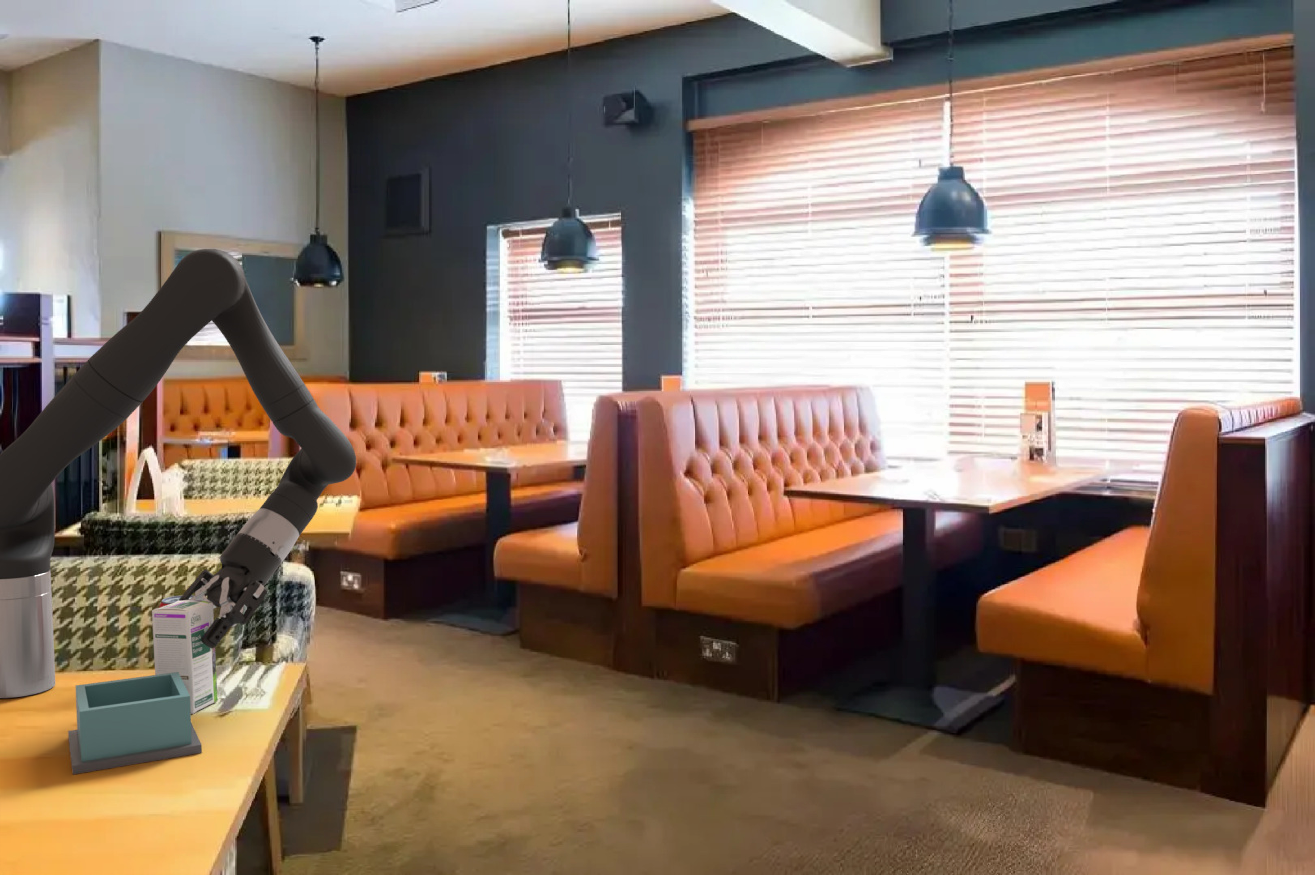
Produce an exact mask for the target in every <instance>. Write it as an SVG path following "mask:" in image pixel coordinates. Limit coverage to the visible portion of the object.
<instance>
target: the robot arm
mask: <svg viewBox="0 0 1315 875" xmlns="http://www.w3.org/2000/svg"><path fill="white" fill-rule="evenodd" d="M165 280H166V281H164V283H163V284H162V286H161V287H160V288H159V290H158V291H157V292H156V293H155V295H154V296H153V297H152V298H151V300H150V301H149V302H148V304H146V305H145V307H144V308H143V309H142V310H141V311H140V312H139V313H138V314H137V315H136V316H135V317H134V318H133V319H132V320H130V321H129V322H128V323H127V324H126V325H124V326H123V327H122V328H121V329H120V330H118V331H117V332H116V333H115V334H114V335H113V336H111V337H110V338H109V339H108V340H107V341H106V342H105V343H104V344H102V345H101V347H100V348H99V349H98V350H97V351H96V352H94V353H93V354H92V355H91V356H90V357H89V359H88V360H86V362H84V364H83V365H82V366H81V367H79V369H78V370H77V371H76V372H75V373H74V374H73V375H72V377H71V378H70V379H68V381H67V382H66V383H65V384H64V385H63V387H62V388H61V389H60V390H58V392H57V394H56V395H54V396H53V398H52V399H51V400H50V401H49V403H47V405H45V407H44V408H43V410H42V411H41V412H40V413H39V414H38V415H37V417H35V419H34V420H33V422H32V423H31V424H29V426H28V427H27V429H26V430H25V431H23V433H21V434H20V436H18V438H16V439H15V440H14V441H13V442H12V443H11V444H10V445H8V446H7V447H6V448H5V449H4V450H3V451H2V452H0V699H10V698H18V697H19V698H20V697H26V696H32V695H35V694H39V693H43V692H45V691H48V690H50V689H52V688H54V687H55V686H56V668H55V664H56V663H55V648H54V647H55V645H54V644H55V643H54V640H55V639H54V624H53V623H54V621H53V620H54V619H53V618H54V617H53V616H54V615H53V598H52V597H53V594H52V578H51V576H52V575H51V558H52V554H53V551H54V548H55V532H56V531H55V527H56V526H55V513H56V512H55V494H54V489H53V484H52V483H53V482H54V481H55V480H56V479H57V477H58V476H59V475H60V474H61V473H62V472H63V471H64V470H65V468H67V467H68V466H69V465H70V464H71V463H72V462H74V461H75V460H76V459H77V458H78V457H80V456H81V455H83V454H84V453H86V452H87V451H88V450H90V449H91V448H92V447H94V446H96V444H98V443H100V441H102V440H103V439H104V438H106V437H107V436H108V435H110V434H111V433H113V432H114V431H115V430H117V428H118V427H120V426H121V425H122V424H123V423H124V422H125V421H126V420H127V419H128V418H129V417H131V415H132V414H133V413H134V411H136V409H138V408H139V406H141V404H142V403H143V402H144V401H145V400H146V399H147V398H148V396H149V395H150V394H151V393H152V392H153V390H154V389H155V388H156V387H157V385H158V384H159V383H160V381H162V378H163V377H164V376H165V374H166V373H167V372H168V370H169V368H170V367H171V365H172V363H173V362H174V360H175V359H176V358H177V356H178V354H179V353H180V352H181V350H182V349H183V348H184V347H185V346H186V345H187V344H188V342H190V340H192V338H194V337H195V336H196V335H197V334H198V333H199V332H201V331H202V330H203V329H204V328H205V327H206V326H207V325H208V324H210V323H211V322H212V323H213V324H214V325H215V327H217V329H218V330H219V331H220V333H221V335H223V337H224V338H225V340H226V341H227V343H228V345H229V346H230V348H231V350H232V351H233V353H234V355H235V357H236V359H237V361H238V364H239V365H240V367H241V369H242V371H243V373H244V375H245V378H246V380H247V382H248V384H249V386H250V388H251V391H253V393H254V395H255V397H256V399H257V401H258V402H259V403H260V406H261V407H262V408H263V410H264V412H265V414H266V415H267V416H268V418H269V420H270V422H272V424H273V426H274V427H275V429H276V430H277V431H278V432H279V434H281V435H282V436H284V437H289V438H291V439H293V440H294V441H295V443H296V444H297V445H298V446H299V448H300V449H299V450H298V451H297V453H296V454H295V455H294V456H293V457H292V459H291V460H290V462H289V463H288V465H287V467H286V469H285V470H284V472H283V474H282V476H281V478H280V480H279V483H278V485H277V486H276V488H275V489H274V490H273V491H272V493H270V494H269V496H268V497H267V499H266V500H265V501H264V502H263V504H262V505H261V506H260V507H259V509H257V511H256V512H255V513H254V514H253V515H252V516H251V517H250V518H249V519H248V520H247V521H246V523H245V524H244V525H243V526H242V528H241V529H240V530H239V531H238V533H237V534H236V535H235V536H234V537H233V539H232V540H231V542H230V543H229V544H228V545H227V547H226V548H225V549H224V551H223V552H221V554H220V556H219V561H220V563H221V568H220V569H219V570H218V571H217V572H216V573H214V574H213V573H211V572H210V571H209V570H208V569H203V570H202V571H201V572H200V573H199V575H198V576H197V577H196V579H195V580H194V581H193V582H192V584H190V586H189V587H188V589H186V590H185V591H184V593H183V594H182V595H180V596H181V598H180V599H179V601H183V600H202V601H209V602H212V603H213V610H215V609H216V608H220V609H219V610H220V611H219V617H216V618H215V619H214V622H213V623H212V625H211V626H210V627H209V628H208V630H207V631H206V632H205V634H204V635H203V636H202V638H201V642H202V643H204V644H205V645H206V646H207V647H209V648H215V649H216V647H217V646H218V644H219V643H220V642H221V641H222V639H223V638H224V636H225V635H226V634H227V632H229V630H230V628H235V627H236V626H237V624H239V625H241V626H245V625H246V624H247V623H248V622H249V620H250V618H251V617H252V616H253V615H254V612H255V611H256V610H257V609H258V607H259V606H260V604H261V603H262V602H263V600H264V599H265V597H266V595H267V594H268V592H269V590H268V589H267V588H266V587H265V586H266V584H267V583H268V582H269V581H270V579H271V578H272V577H273V575H274V574H275V573H276V571H277V569H279V567H280V566H281V565H282V563H283V561H285V559H286V558H287V557H288V555H289V553H290V552H291V551H292V549H293V547H294V546H295V544H296V542H297V541H298V538H299V537H300V536H301V535H302V533H303V532H304V530H306V527H308V525H309V524H310V523H311V521H312V520H313V518H314V516H315V515H316V513H317V511H318V508H319V507H318V499H319V498H320V497H321V494H322V493H323V492H324V490H325V489H326V488H327V487H328V486H329V485H333V484H334V485H335V484H339V483H341V482H345V481H346V480H348V479H349V478H351V477H352V475H353V474H354V473H355V470H356V467H357V456H356V453H355V449H354V447H353V445H352V444H351V442H350V440H349V439H348V437H347V436H346V435H345V433H344V432H343V431H342V429H340V428H339V427H338V426H337V424H335V423H334V421H333V420H332V419H331V418H330V417H329V416H328V415H327V414H326V413H325V412H324V411H323V410H322V409H321V408H320V407H319V406H318V404H317V402H316V400H315V399H314V397H313V395H312V393H311V392H310V390H309V389H308V387H307V386H306V384H305V383H304V381H303V380H302V377H301V376H300V374H299V373H298V371H297V370H296V369H295V367H294V366H293V364H292V362H291V361H290V359H289V358H288V356H287V355H286V354H285V352H284V350H283V349H282V347H281V346H280V344H279V343H278V341H277V340H276V338H275V336H274V335H273V333H272V332H271V330H270V328H269V326H268V325H267V322H266V321H265V319H264V317H263V315H262V314H261V311H260V309H259V307H258V305H257V302H256V300H255V298H254V296H253V294H252V291H251V288H250V286H249V284H248V282H247V278H246V275H245V271H244V269H243V266H242V265H241V263H240V262H239V261H238V260H237V259H236V258H235V257H234V256H233V255H231V254H230V253H228V252H226V251H223V250H222V249H216V248H201V249H198V250H197V249H196V250H193V251H191V252H189V253H187V254H186V255H185V256H184V257H183V258H181V260H180V261H179V263H177V265H176V266H175V268H174V269H173V270H172V272H171V273H170V274H169V276H168V277H167V279H165ZM193 594H194V595H193ZM191 595H193V596H194V597H192V598H191V599H189V598H190V597H191ZM244 607H246V610H245V611H244ZM243 612H244V613H243Z"/></svg>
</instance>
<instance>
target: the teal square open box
mask: <svg viewBox="0 0 1315 875" xmlns="http://www.w3.org/2000/svg"><path fill="white" fill-rule="evenodd" d="M75 703H76V704H75V706H76V710H75V711H76V729H72V730H68V731H67V732H68V733H67V734H68V735H67V736H68V745H69V746H68V747H69V753H70V754H69V755H70V764H71V770H72V775H78V774H82V773H83V774H84V773H89V772H95V771H102V770H108V769H112V768H113V769H114V768H119V767H124V766H125V767H126V766H129V765H130V766H131V765H137V764H143V763H149V762H154V761H155V762H156V761H162V760H167V759H172V758H179V757H185V756H191V755H197V754H202V753H203V752H202V751H203V750H202V748H203V747H202V743H201V741H200V738H199V736H198V734H197V732H196V730H195V728H194V725H193V723H192V717H191V716H192V714H191V709H190V695H189V693H188V691H187V689H186V687H185V685H184V683H183V681H182V679H181V677H180V675H179V672H173V673H166V674H158V675H155V674H153V675H152V674H151V675H145V676H138V677H130V678H122V679H116V680H115V679H113V680H108V681H98V682H93V683H92V682H91V683H84V684H76V685H75Z"/></svg>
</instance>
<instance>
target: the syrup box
mask: <svg viewBox="0 0 1315 875" xmlns="http://www.w3.org/2000/svg"><path fill="white" fill-rule="evenodd" d="M151 617H152V618H151V619H152V620H151V621H152V636H153V656H154V657H153V659H154V673H155V674H154V675H158V674H166V673H173V672H179V675H180V677H181V679H182V681H183V683H184V685H185V687H186V689H187V691H188V693H189V695H190V709H191V715H194V714H197V712H198V711H200V710H202V709H204V708H206V707H208V706H210V705H212V704H214V703H217V702H218V698H219V697H218V682H217V665H216V664H217V663H216V661H217V660H216V647H215V648H209V647H207V646H206V645H205V644H204V643H202V642H201V638H202V636H203V635H204V634H205V632H206V631H207V630H208V628H209V627H210V626H211V625H212V623H213V622H214V621H215V619H214V609H213V603H212V602H209V601H202V600H183V601H179V600H178V601H176V602H175V603H172V604H169V605H166V606H163V607H161V608H159V607H157V608H154V609H152V611H151Z"/></svg>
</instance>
